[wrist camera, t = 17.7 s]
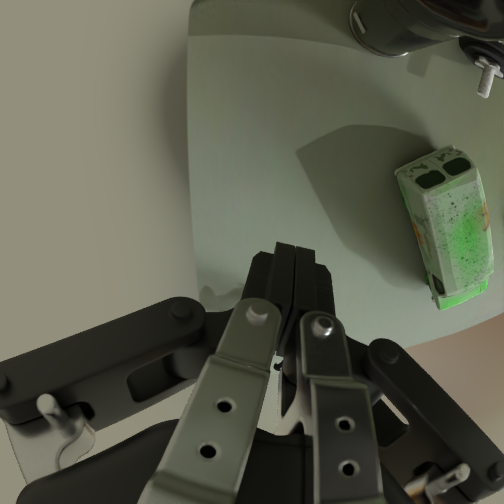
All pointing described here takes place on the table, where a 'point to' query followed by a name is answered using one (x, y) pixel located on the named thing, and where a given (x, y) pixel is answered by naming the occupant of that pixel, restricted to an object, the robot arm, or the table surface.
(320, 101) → the table surface
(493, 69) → the dumbbell
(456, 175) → the toy car
